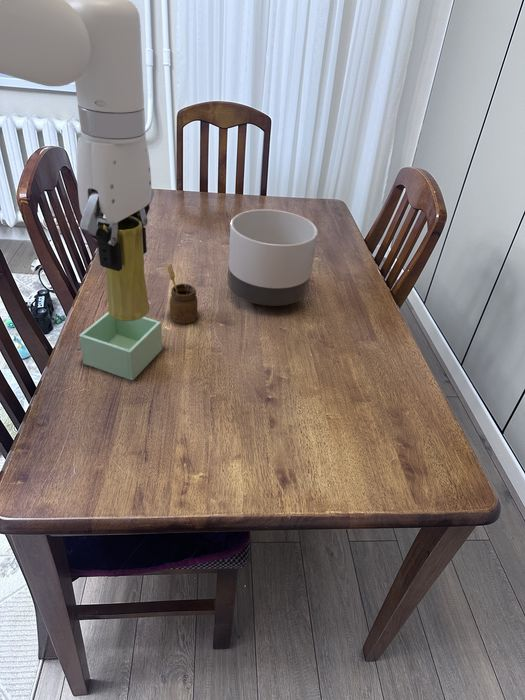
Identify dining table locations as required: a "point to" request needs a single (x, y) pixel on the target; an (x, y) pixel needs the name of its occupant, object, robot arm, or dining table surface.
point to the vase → (128, 274)
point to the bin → (121, 345)
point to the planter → (270, 256)
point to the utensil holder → (182, 301)
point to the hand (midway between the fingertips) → (124, 258)
